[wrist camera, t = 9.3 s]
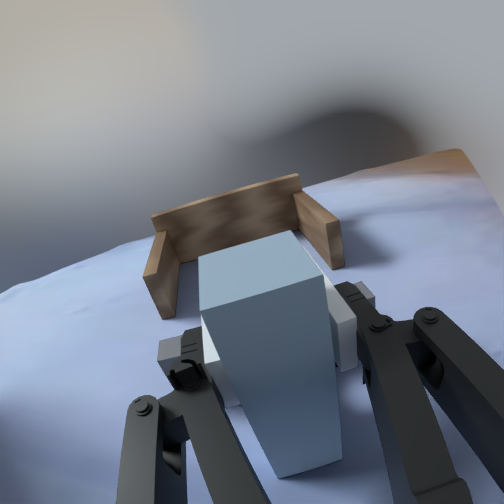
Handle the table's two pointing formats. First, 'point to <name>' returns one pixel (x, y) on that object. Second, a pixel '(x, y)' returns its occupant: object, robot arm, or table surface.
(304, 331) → the block
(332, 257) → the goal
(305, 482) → the table surface
